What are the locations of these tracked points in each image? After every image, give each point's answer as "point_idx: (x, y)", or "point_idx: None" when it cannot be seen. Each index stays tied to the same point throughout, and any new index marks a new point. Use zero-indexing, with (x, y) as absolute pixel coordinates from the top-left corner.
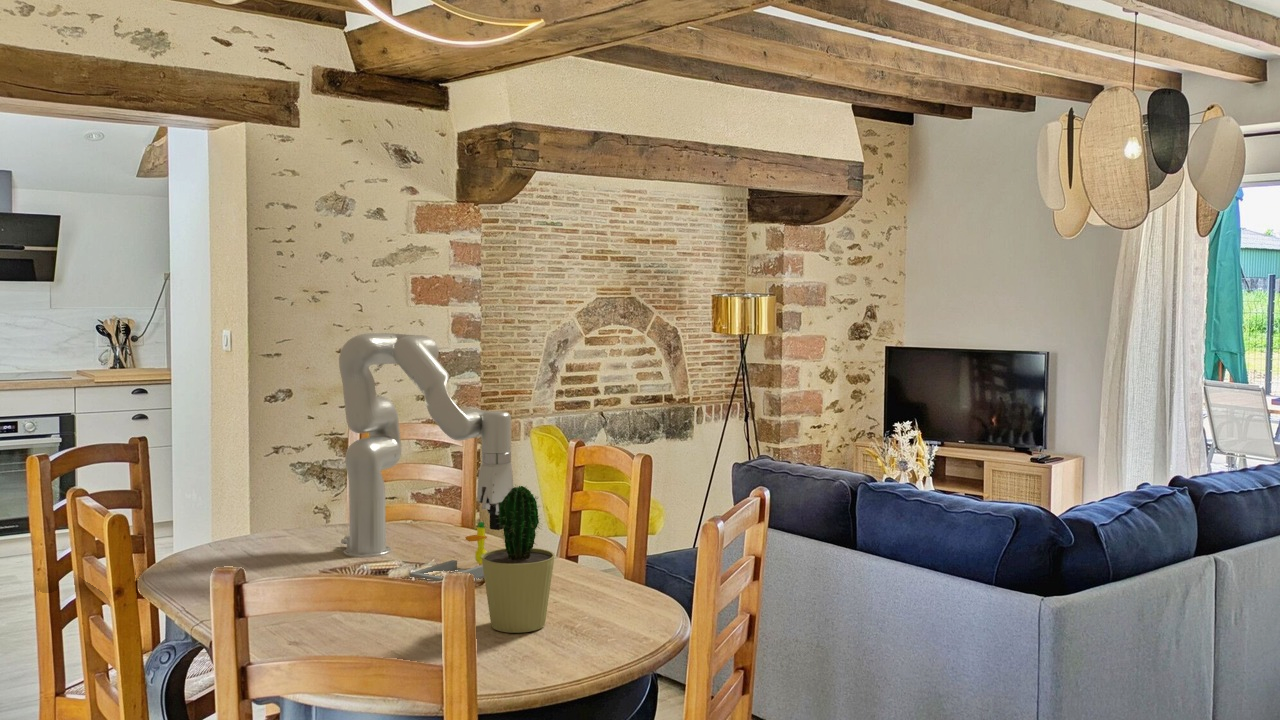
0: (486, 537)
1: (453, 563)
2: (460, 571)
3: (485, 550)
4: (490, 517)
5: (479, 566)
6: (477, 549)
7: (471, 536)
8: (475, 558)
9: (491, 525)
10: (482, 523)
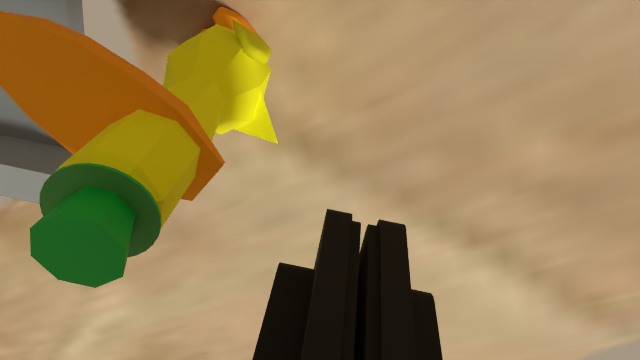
0: (186, 194)
1: None
2: (14, 9)
3: (231, 123)
4: (256, 349)
5: (1, 179)
6: (186, 68)
7: (45, 77)
8: (184, 42)
9: (276, 275)
10: (54, 274)
